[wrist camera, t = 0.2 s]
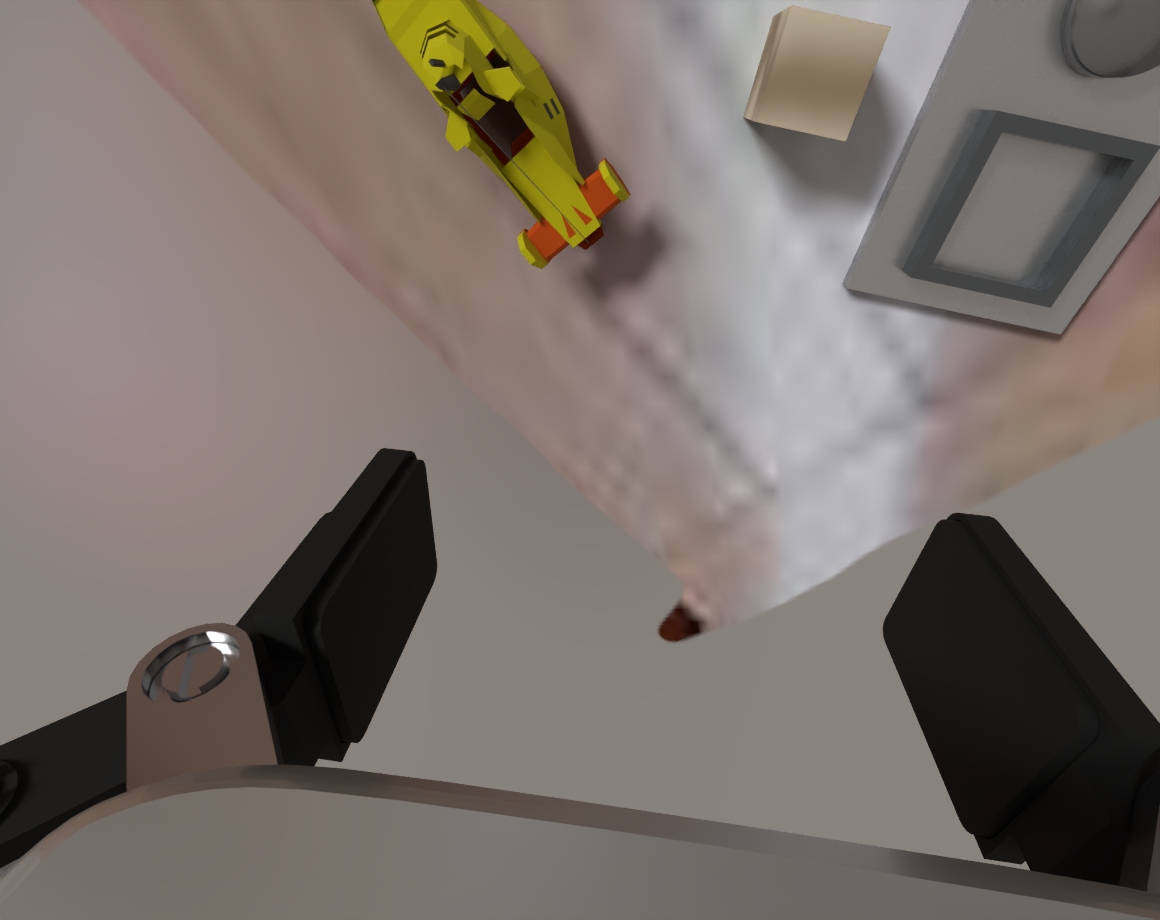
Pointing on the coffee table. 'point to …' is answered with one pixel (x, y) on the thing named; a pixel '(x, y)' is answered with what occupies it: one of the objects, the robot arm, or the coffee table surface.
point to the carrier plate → (1023, 163)
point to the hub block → (814, 71)
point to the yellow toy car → (543, 150)
